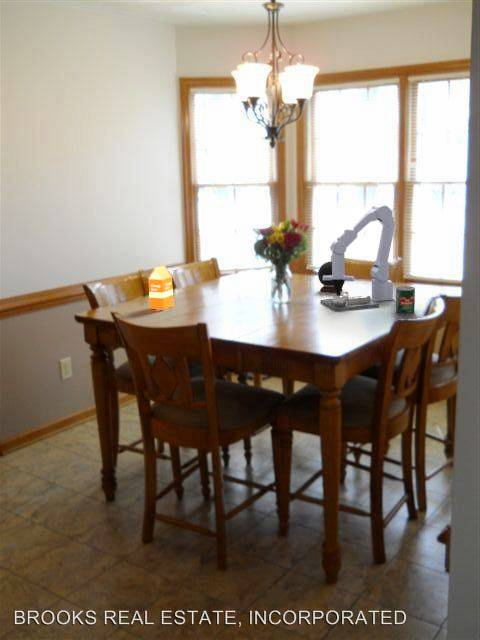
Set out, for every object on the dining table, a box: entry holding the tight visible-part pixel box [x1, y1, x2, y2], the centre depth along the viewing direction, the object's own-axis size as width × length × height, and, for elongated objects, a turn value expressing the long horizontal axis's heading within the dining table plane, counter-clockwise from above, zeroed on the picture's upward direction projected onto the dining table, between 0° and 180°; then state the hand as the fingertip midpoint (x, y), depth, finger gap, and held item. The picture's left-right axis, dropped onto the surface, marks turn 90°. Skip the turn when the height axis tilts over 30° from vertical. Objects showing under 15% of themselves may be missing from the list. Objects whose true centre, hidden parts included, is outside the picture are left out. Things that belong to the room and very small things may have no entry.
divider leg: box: [342, 291, 350, 300], centre depth 319 cm, size 11×2×3 cm, turn 159°
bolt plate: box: [319, 294, 380, 312], centre depth 316 cm, size 21×19×6 cm
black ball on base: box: [317, 260, 343, 294], centre depth 349 cm, size 13×13×15 cm
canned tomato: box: [395, 285, 416, 316], centre depth 296 cm, size 8×8×11 cm
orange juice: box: [147, 264, 175, 309], centre depth 323 cm, size 8×9×20 cm
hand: (338, 295), depth 323 cm, fingers closed
